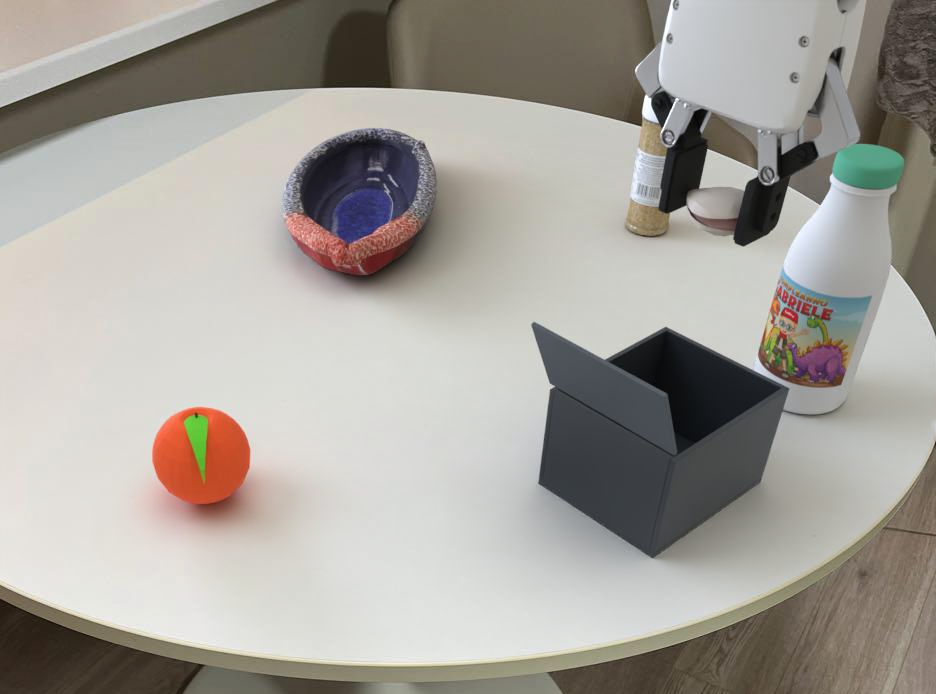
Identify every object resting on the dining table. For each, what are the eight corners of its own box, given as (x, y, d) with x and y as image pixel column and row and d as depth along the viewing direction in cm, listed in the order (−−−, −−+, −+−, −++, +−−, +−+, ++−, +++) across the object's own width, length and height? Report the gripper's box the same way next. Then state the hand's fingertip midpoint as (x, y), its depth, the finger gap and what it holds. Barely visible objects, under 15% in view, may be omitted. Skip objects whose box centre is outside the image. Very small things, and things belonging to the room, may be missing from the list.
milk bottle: (780, 355, 92) (848, 124, 79) (862, 391, 88) (949, 154, 74) (732, 389, 88) (794, 153, 74) (816, 429, 84) (898, 186, 70)
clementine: (261, 526, 75) (253, 446, 70) (162, 540, 74) (147, 459, 69) (249, 458, 81) (240, 380, 76) (157, 470, 79) (142, 391, 75)
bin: (652, 558, 73) (675, 462, 67) (537, 483, 79) (549, 389, 73) (760, 481, 79) (789, 388, 73) (646, 417, 85) (665, 326, 79)
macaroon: (713, 249, 64) (723, 210, 62) (659, 217, 67) (666, 178, 65) (766, 234, 65) (776, 195, 64) (710, 203, 69) (719, 165, 67)
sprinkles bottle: (676, 227, 110) (703, 96, 101) (650, 241, 108) (675, 108, 98) (640, 213, 112) (663, 83, 103) (614, 227, 110) (635, 95, 101)
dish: (448, 167, 121) (450, 123, 117) (417, 302, 98) (418, 252, 95) (315, 159, 122) (313, 115, 119) (254, 290, 100) (249, 240, 96)
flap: (677, 452, 67) (674, 456, 67) (552, 380, 73) (549, 383, 73) (667, 393, 62) (664, 397, 61) (533, 321, 67) (530, 324, 67)
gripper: (986, -94, 51) (868, 254, 63) (698, -148, 60) (644, 164, 73) (905, -70, 47) (797, 294, 59) (613, -132, 57) (571, 193, 69)
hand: (714, 219), depth 66 cm, fingers closed on macaroon, 5 cm apart
